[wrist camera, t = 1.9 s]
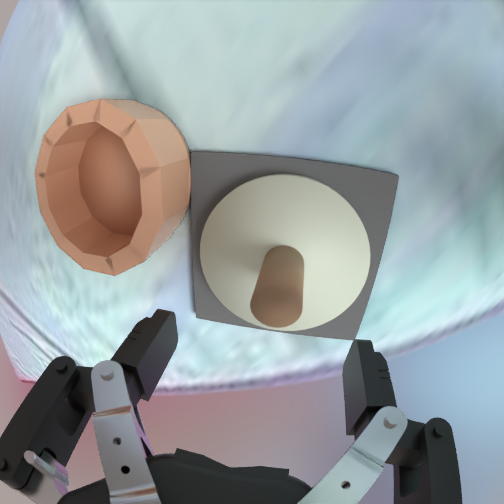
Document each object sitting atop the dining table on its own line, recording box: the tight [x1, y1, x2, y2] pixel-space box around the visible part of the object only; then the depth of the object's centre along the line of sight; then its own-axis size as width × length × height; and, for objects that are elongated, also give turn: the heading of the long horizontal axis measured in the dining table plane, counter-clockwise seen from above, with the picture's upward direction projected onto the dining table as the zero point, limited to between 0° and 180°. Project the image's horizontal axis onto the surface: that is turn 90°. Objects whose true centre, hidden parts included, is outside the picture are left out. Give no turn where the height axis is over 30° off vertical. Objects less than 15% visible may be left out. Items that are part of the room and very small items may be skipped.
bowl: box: [35, 99, 191, 276], centre depth 18 cm, size 12×12×5 cm
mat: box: [191, 151, 399, 340], centre depth 20 cm, size 14×14×1 cm
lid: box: [200, 174, 370, 331], centre depth 17 cm, size 12×12×6 cm
